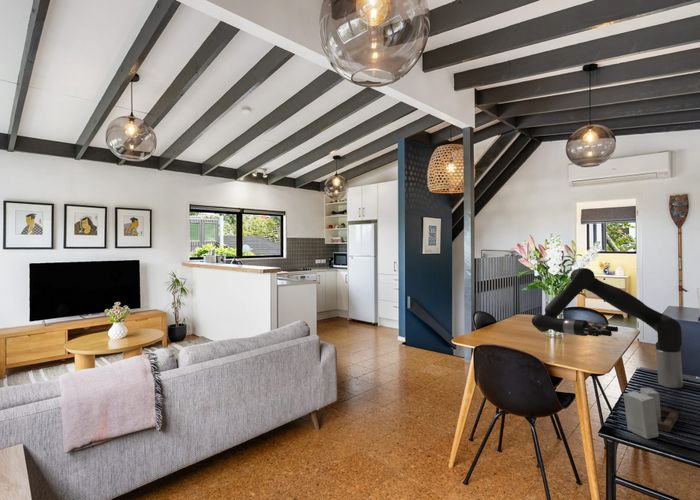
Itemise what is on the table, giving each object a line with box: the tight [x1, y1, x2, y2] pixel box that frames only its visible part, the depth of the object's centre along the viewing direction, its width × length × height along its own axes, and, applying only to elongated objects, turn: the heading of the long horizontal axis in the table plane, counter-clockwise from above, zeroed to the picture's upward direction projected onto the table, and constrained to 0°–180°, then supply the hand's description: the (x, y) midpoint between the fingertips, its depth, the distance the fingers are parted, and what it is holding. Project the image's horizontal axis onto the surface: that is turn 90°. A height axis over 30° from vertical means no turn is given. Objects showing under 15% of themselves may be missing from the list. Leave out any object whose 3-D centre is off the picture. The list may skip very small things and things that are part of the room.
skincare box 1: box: [639, 387, 662, 422], centre depth 156 cm, size 6×4×12 cm
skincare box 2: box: [623, 390, 660, 440], centre depth 147 cm, size 8×6×15 cm
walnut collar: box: [624, 407, 679, 433], centre depth 156 cm, size 15×14×2 cm
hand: (614, 331), depth 173 cm, fingers open, 8 cm apart
